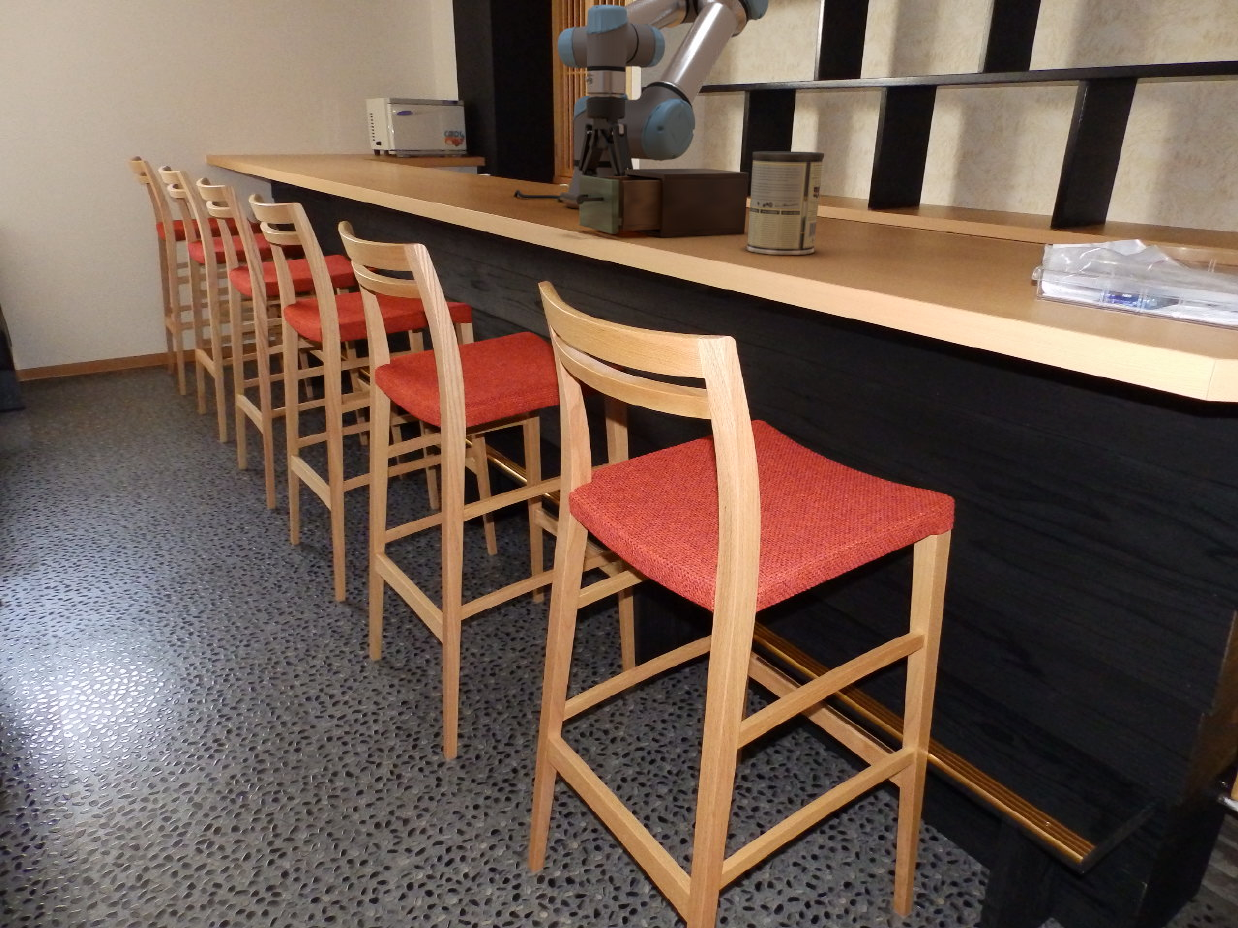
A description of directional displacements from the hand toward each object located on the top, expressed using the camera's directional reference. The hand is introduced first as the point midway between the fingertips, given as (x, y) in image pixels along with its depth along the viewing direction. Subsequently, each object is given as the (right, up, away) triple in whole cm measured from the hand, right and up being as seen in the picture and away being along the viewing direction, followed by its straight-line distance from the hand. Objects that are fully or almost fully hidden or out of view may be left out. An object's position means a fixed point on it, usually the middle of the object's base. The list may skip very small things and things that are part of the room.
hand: (604, 211), depth 169 cm
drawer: (+4, -10, -25) cm, 27 cm away
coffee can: (+27, -19, -41) cm, 53 cm away
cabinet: (+14, -9, -20) cm, 26 cm away
